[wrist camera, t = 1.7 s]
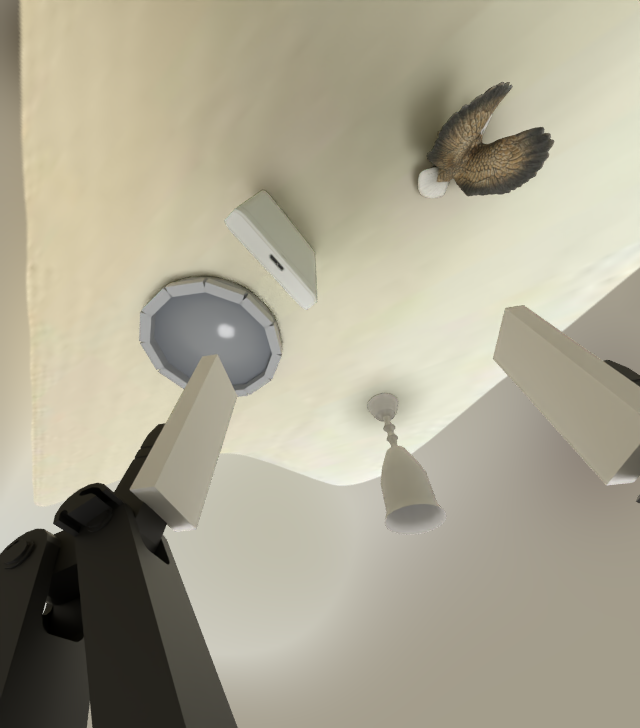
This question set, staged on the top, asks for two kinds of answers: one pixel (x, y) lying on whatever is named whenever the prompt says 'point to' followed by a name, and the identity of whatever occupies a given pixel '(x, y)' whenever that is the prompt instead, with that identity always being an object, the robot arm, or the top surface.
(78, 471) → the top surface
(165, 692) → the robot arm
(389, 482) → the chalice
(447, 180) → the eagle figurine
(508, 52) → the top surface
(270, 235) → the external hard drive
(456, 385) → the top surface
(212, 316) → the dish
